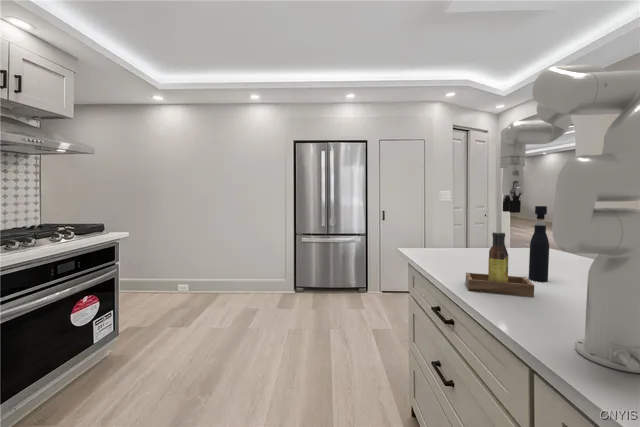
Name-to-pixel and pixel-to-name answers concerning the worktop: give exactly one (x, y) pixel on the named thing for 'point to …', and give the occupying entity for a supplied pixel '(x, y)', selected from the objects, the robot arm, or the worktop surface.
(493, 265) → the sauce bottle
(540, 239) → the wine bottle
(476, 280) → the bottle tray
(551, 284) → the worktop surface
